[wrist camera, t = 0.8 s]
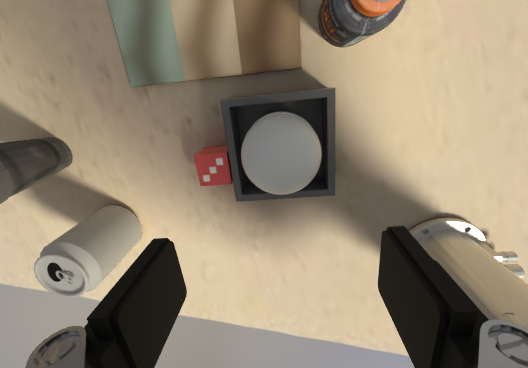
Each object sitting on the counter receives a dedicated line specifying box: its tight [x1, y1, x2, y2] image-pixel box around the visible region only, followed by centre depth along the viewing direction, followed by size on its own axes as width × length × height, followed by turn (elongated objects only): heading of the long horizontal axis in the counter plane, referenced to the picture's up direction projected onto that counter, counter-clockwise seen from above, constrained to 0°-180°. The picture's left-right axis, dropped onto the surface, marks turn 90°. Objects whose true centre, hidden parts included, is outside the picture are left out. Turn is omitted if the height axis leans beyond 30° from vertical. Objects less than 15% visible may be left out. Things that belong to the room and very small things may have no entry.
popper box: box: [194, 88, 335, 201], centre depth 31 cm, size 16×12×5 cm
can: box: [34, 205, 142, 298], centre depth 34 cm, size 8×8×12 cm
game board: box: [107, 0, 301, 87], centre depth 29 cm, size 21×9×1 cm, turn 96°
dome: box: [241, 110, 322, 195], centre depth 26 cm, size 8×8×8 cm
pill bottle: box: [318, 0, 406, 47], centre depth 22 cm, size 6×6×11 cm
